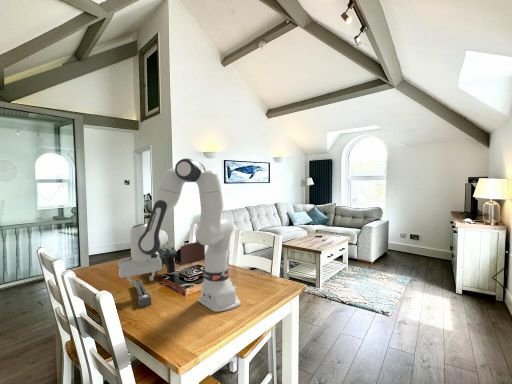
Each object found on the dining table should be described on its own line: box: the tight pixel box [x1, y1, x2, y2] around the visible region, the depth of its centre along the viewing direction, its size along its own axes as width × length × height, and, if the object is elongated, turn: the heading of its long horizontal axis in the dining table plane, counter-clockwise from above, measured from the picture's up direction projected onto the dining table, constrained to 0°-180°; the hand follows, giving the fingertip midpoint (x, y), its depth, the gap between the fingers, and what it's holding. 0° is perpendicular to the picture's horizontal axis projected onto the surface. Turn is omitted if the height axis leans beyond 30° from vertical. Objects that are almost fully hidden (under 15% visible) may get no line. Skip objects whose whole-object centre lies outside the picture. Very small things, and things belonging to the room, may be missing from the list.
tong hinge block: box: [137, 293, 152, 308], centre depth 125 cm, size 4×5×4 cm
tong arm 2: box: [137, 279, 148, 295], centre depth 138 cm, size 22×1×3 cm, turn 31°
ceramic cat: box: [157, 241, 177, 273], centre depth 168 cm, size 20×6×20 cm, turn 46°
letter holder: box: [174, 241, 206, 266], centre depth 193 cm, size 10×20×14 cm, turn 134°
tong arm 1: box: [133, 279, 143, 296], centre depth 136 cm, size 22×1×3 cm, turn 31°
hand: (141, 282), depth 134 cm, fingers open, 8 cm apart
